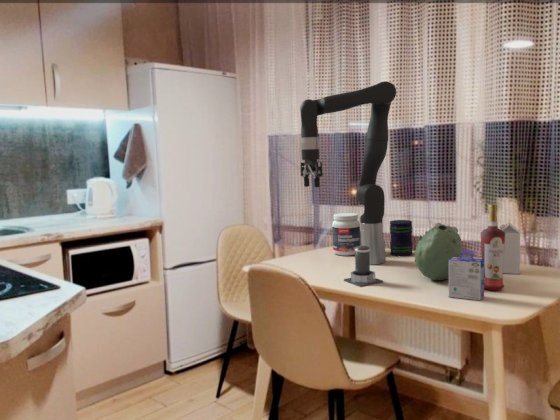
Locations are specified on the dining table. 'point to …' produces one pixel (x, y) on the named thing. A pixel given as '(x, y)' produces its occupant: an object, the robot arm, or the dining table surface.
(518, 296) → the dining table surface
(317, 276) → the dining table surface
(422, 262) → the green bumpy vase
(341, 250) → the supplement tub
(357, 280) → the grey ring on plate
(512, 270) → the milk carton
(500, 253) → the liquor
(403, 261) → the dining table surface
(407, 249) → the storage jar
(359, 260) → the tube
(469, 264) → the ink cartridge box
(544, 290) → the dining table surface
